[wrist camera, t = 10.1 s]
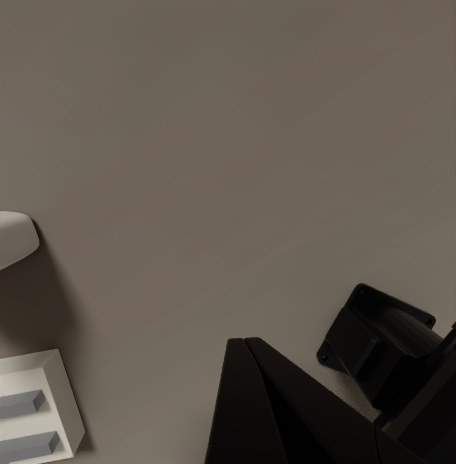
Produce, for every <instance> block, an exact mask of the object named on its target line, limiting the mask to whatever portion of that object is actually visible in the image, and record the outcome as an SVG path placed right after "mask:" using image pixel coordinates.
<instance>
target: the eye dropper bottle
mask: <svg viewBox="0 0 456 464" xmlns="http://www.w3.org/2000/svg"><path fill="white" fill-rule="evenodd" d="M38 246H39V238H38V235H37V233H36V230H35V227H34V225H33V222H32V220H31V219H30V217H29V216H27V215H25V214H22V213H17V212H6V211H0V270H1V269H3V268H5V267H8V266H10V265H12V264H14V263H16V262H18V261H20V260H21V259H23V258H25V257H27V256H28V255H30V254H31V253H33V252H34V251H35V250H36V249H37V248H38Z"/></svg>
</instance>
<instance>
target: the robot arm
mask: <svg viewBox="0 0 456 464" xmlns="http://www.w3.org/2000/svg"><path fill="white" fill-rule="evenodd" d="M362 289H365V291H364V292H363V293H361V290H362ZM427 319H428V321H427V322H426V320H427ZM435 322H436V319H435V317H434V316H432V315H431V314H429V313H427V312H425V311H423V310H421V309H419V308H417V307H414V306H412V305H410V304H408V303H406V302H404V301H401V300H399V299H397V298H395V297H393V296H390V295H388V294H386V293H384V292H382V291H380V290H377V289H375V288H373V287H371V286H369V285H367V284H364V283H361V284H358V285H357V286H356V287H355V289H354V290H353V292H352V294H351V296H350V297H349V299H348V301H347V302H346V304H345V306H344V307H343V308H342V309H341V311H340V312H339V314H338V316H337V318H336V319H335V321H334V323H333V324H332V326H331V328H330V329H329V331H328V333H327V335H326V338H325V340H324V342H323V343H322V345H321V347H320V349H319V350H318V352H317V358H318V360H319V362H320V363H321V364H323V365H326V366H328V367H331V368H333V369H336V370H338V371H341V372H343V373H346V374H348V375H350V376H351V377H352V378H353V379H354V380H355V382H356V383H357V385H358V386H359V388H360V389H361V391H362V392H363V394H364V395H365V397H366V398H367V400H368V401H369V402H370V404H371V405H372V407H374V408H375V409H376V410H377V412H378V413H379V416H378V417H377V418H376V419H375V420H374V421H373V423H372V422H371V421H369V420H368V419H367V418H365V417H364V416H363V415H361V414H360V413H359V412H357V411H356V410H355V409H354V408H352V407H351V406H350V405H348V404H347V403H346V402H344V401H343V400H342V399H340V398H339V397H338V396H336V395H335V394H334V393H332V392H331V391H330V390H328V389H327V388H326V387H324V386H323V385H322V384H320V383H319V382H318V381H317V380H315V379H314V378H313V377H311V376H310V375H309V374H307V373H306V372H305V371H303V370H302V369H301V368H299V367H298V366H297V365H295V364H294V363H293V362H291V361H290V360H289V359H287V358H286V357H285V356H283V355H282V354H281V353H280V352H278V351H277V350H276V349H274V348H273V347H272V346H270V345H269V344H268V343H266V342H265V341H264V340H262V339H261V338H259V337H250V338H245V339H243V338H230V339H228V341H227V346H226V351H225V357H224V362H223V367H222V373H221V378H220V383H219V389H218V394H217V400H216V405H215V410H214V416H213V421H212V426H211V432H210V437H209V443H208V448H207V452H206V457H205V463H204V464H456V322H455V323H454V324H453V325H452V326H451V327H452V328H453V329H452V330H451V331H450V333H449V334H448V335H447V336H446V337H445V338H444V339H443V338H442V337H441V336H439V335H438V334H436V333H435V332H434V331H432V330H431V329H432V328H433V326H434V325H435ZM324 355H326V357H324V358H322V357H323V356H324Z"/></svg>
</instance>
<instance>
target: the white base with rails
mask: <svg viewBox="0 0 456 464" xmlns="http://www.w3.org/2000/svg"><path fill="white" fill-rule="evenodd" d="M84 433H85V429H84V426H83V423H82V419H81V416H80V413H79V410H78V407H77V404H76V401H75V398H74V395H73V392H72V389H71V386H70V383H69V380H68V377H67V374H66V371H65V368H64V365H63V362H62V359H61V356H60V353H59V349H52V350H47V351H41V352H36V353H30V354H25V355H19V356H14V357H8V358H3V359H0V464H39V463H45V462H50V461H55V460H60V459H65V458H71V457H74V455H75V453H76V451H77V448H78V446H79V444H80V442H81V440H82V438H83V436H84Z"/></svg>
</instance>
